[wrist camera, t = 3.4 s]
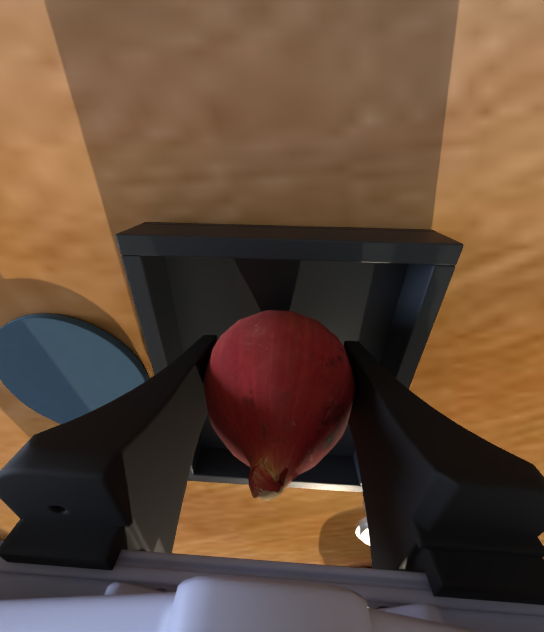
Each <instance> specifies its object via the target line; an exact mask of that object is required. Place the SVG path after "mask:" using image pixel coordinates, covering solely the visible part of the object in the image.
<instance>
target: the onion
mask: <svg viewBox="0 0 544 632" xmlns="http://www.w3.org/2000/svg"><path fill="white" fill-rule="evenodd" d="M355 388H356V386H355V380H354V374H353V370H352V367H351V365H350V362H349V359H348V356H347V354H346V351H345V348H344V346H343V345H342V343H341V342H340V340H339V339H338V337H337V336H336V335H334V334H333V333H332V332H331V331H329V330H328V329H327V328H326V327H325V326H323V325H322V324H321V323H320V322H318V321H317V320H315V319H312V318H309V317H307V316H304V315H301V314H299V313H296V312H293V311H276V310H266V311H262V312H260V313H257V314H254V315H251V316H249V317H246V318H243V319H240V320H238V321H237V322H236V323H235V324H234V325H233V326H231V327H230V328H229V329H228V330H227V331H226V332H224V333H223V334H222V335H221V336H220V338H219V339H218V341H217V342H216V344H215V346H214V347H213V350H212V353H211V355H210V358H209V361H208V364H207V367H206V370H205V377H204V391H205V398H206V405H207V411H208V416H209V419H210V422H211V425H212V427H213V429H214V430H215V432H216V433H217V435H218V436H219V438H220V439H221V440H222V441H223V443H224V444H225V445H226V446H227V448H228V449H229V450H230V452H231V453H232V454H233V455H234V456H235V457H236V458H238V459H239V460H240V461H242V462H243V463H245V464H246V465H247V466H249V467H250V470H251V471H250V474H249V479H248V480H249V487H250V490H251V493H252V496H253V498H259V499H261V500H263V501H269V500H272V499H274V498H276V497H277V496H279V495H280V494H281V493H282V492H283V491H284V490H285V488H286V487H287V486H288V485H289V484H290V482H291V481H292V480H293V479H294V478H295V477H297V476H298V475H299V474H301V473H304V472H306V471H308V470H310V469H311V468H313V467H314V466H316V465H317V464H318V463H319V462H320V461H321V460H322V459H323V457H324V456H325V455H326V454H327V453H328V452H329V451H330V450H331V449H332V448H333V447H334V446H335V445H336V444H337V442H338V441H339V440H340V438H341V437H342V435H343V433H344V431H345V428H346V426H347V423H348V419H349V415H350V412H351V408H352V404H353V399H354V394H355Z"/></svg>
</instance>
